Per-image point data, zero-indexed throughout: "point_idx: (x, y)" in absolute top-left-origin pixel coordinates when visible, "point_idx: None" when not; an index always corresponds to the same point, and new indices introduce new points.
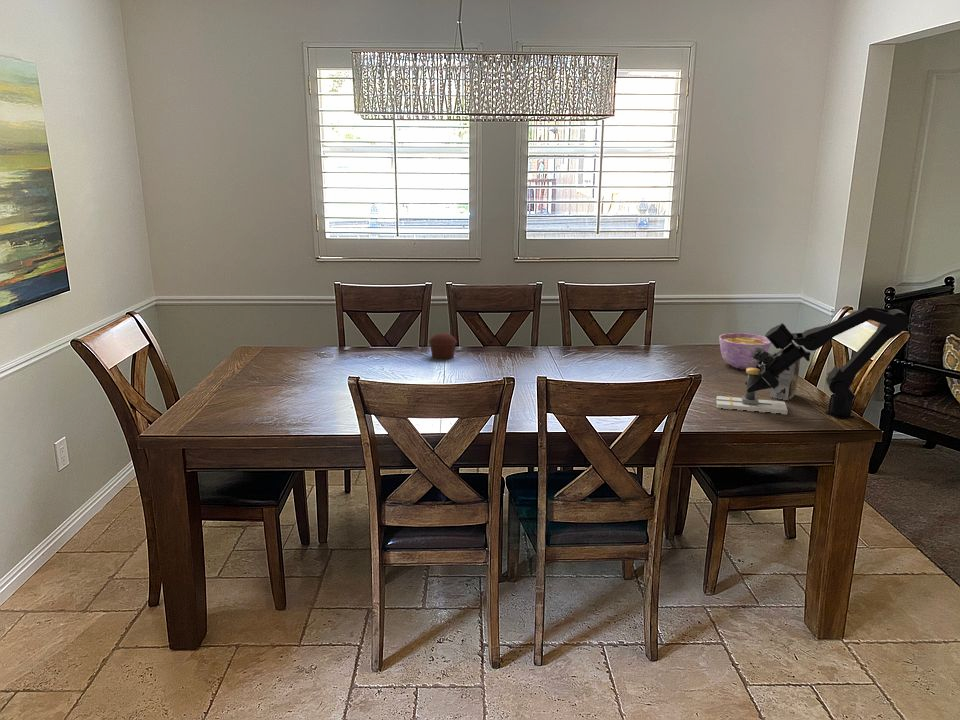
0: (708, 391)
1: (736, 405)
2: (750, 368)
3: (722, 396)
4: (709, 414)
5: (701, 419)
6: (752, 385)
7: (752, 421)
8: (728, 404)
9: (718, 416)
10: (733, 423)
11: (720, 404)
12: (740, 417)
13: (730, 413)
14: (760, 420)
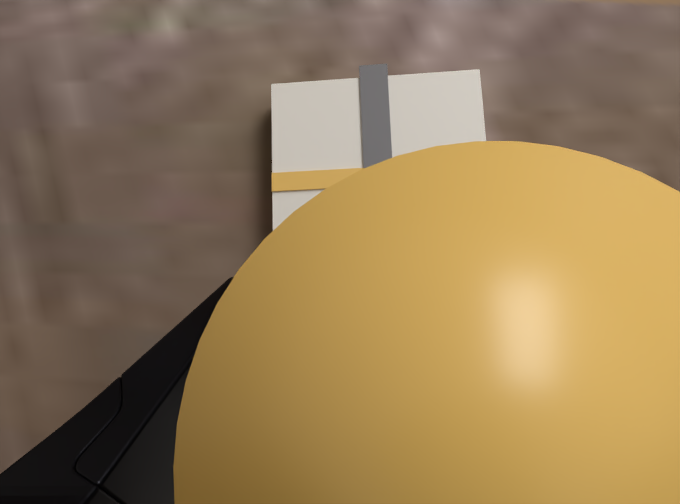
0: (671, 27)
1: (277, 218)
2: (635, 330)
3: (479, 111)
4: (138, 65)
5: (35, 28)
6: (151, 351)
7: (66, 330)
8: (282, 160)
9: (113, 118)
10: (3, 209)
11: (272, 106)
12: (128, 253)
13: (194, 189)
14: (99, 386)
